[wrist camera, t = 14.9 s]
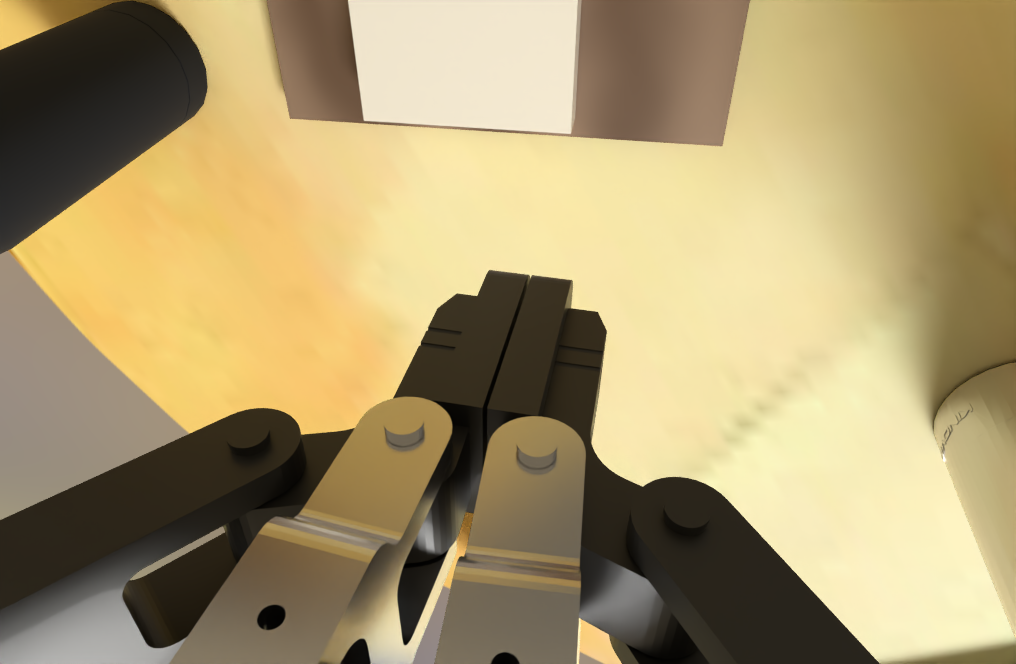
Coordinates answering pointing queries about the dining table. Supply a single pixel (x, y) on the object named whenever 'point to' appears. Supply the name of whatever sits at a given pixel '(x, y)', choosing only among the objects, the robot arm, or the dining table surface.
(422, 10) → the tile teal
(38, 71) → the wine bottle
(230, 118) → the dining table surface
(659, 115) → the board
